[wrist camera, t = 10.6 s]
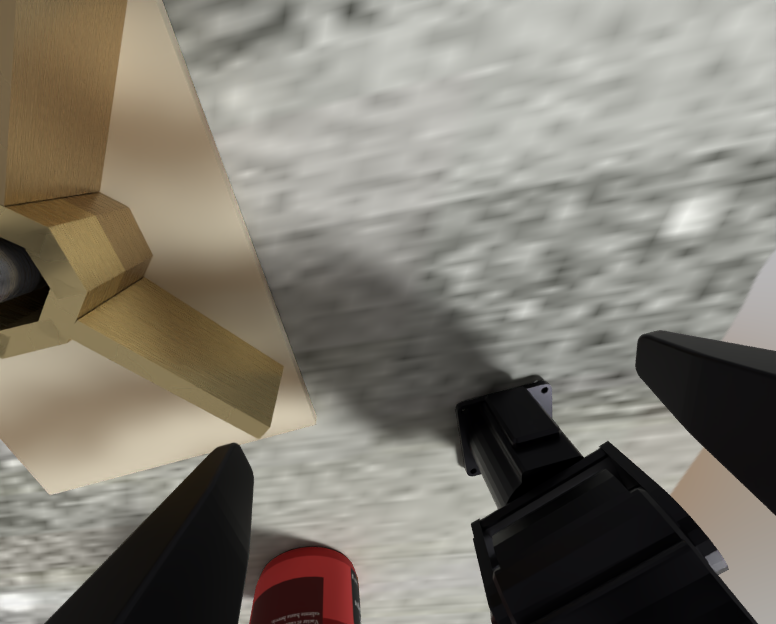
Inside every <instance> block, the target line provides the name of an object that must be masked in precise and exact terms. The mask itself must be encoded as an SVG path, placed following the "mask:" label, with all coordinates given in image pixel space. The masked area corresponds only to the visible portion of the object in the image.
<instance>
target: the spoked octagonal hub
mask: <svg viewBox="0 0 776 624" xmlns="http://www.w3.org/2000/svg"><path fill="white" fill-rule="evenodd" d="M127 1H128V0H0V237H1V238H4V239H6V240H8V241H10V242H13V243H15V244H17V245H19V246H22V247H24V248H25V250H26V251H27V253H28V254H29V256H30V257H31V259H32V260H33V262H34V264H35V265H36V267H37V268H38V270H39V271H40V273H41V274H42V276H43V277H44V279H45V281H46V282H47V284H48V285H49V286H46V287H44V288H41V289H38V290H35V291H32V292H30V293H27V294H24V295H21V296H18V297H16V298H13V299H10V300H7V301H4V302H2V303H0V358H2V359H5V358H9V357H13V356H17V355H21V354H25V353H29V352H33V351H37V350H42V349H46V348H50V347H54V346H58V345H62V344H66V343H68V342H70V341H71V340H74V341H76V342H78V343H79V344H81V345H83V346H85V347H87V348H89V349H91V350H92V351H94V352H96V353H98V354H100V355H102V356H104V357H106V358H107V359H109V360H111V361H113V362H115V363H117V364H119V365H121V366H122V367H124V368H126V369H128V370H130V371H132V372H134V373H135V374H137V375H139V376H141V377H143V378H145V379H147V380H149V381H150V382H152V383H154V384H156V385H158V386H160V387H162V388H164V389H165V390H167V391H169V392H171V393H173V394H175V395H177V396H178V397H180V398H182V399H184V400H186V401H188V402H190V403H192V404H193V405H195V406H197V407H199V408H201V409H203V410H205V411H207V412H208V413H210V414H212V415H214V416H216V417H218V418H220V419H221V420H223V421H225V422H227V423H229V424H231V425H233V426H235V427H236V428H238V429H240V430H242V431H244V432H246V433H248V434H250V435H251V436H253V437H255V438H257V439H260V438H261V437H262V436H263V435H264V434H265V433H266V432H267V431H268V429H269V428H270V426H271V422H272V417H273V413H274V409H275V404H276V400H277V395H278V391H279V386H280V382H281V377H282V373H283V368H284V366H283V365H281V364H280V363H278V362H276V361H275V360H273V359H272V358H270V357H269V356H267V355H266V354H264V353H262V352H261V351H259V350H258V349H256V348H255V347H253V346H252V345H250V344H248V343H247V342H245V341H244V340H242V339H241V338H239V337H237V336H236V335H234V334H233V333H231V332H230V331H228V330H227V329H225V328H223V327H222V326H220V325H219V324H217V323H216V322H214V321H213V320H211V319H209V318H208V317H206V316H205V315H203V314H202V313H200V312H199V311H197V310H195V309H194V308H192V307H191V306H189V305H188V304H186V303H184V302H183V301H181V300H180V299H178V298H177V297H175V296H174V295H172V294H170V293H169V292H167V291H166V290H164V289H163V288H161V287H160V286H158V285H156V284H155V283H153V282H152V281H150V280H149V279H147V278H146V277H144V275H145V273H146V271H147V269H148V266H149V264H150V262H151V259H152V257H153V254H152V252H151V250H150V248H149V246H148V244H147V242H146V240H145V238H144V236H143V234H142V232H141V230H140V228H139V226H138V224H137V222H136V220H135V218H134V216H133V214H132V212H131V210H130V208H129V207H128V206H126V205H124V204H122V203H120V202H118V201H116V200H114V199H112V198H110V197H108V196H106V195H105V194H103V193H101V192H99V191H100V188H101V181H102V174H103V167H104V161H105V154H106V147H107V140H108V133H109V126H110V119H111V112H112V105H113V98H114V91H115V84H116V77H117V70H118V63H119V56H120V49H121V42H122V35H123V28H124V22H125V15H126V8H127Z"/></svg>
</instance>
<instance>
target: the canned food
mask: <svg viewBox="0 0 776 624" xmlns="http://www.w3.org/2000/svg"><path fill="white" fill-rule="evenodd" d="M249 624H361V613H360V598H359V584H358V577H357V575H356V572H355V569H354V567H353V565H352V563H351V561H350V560H349V559H348V558H347V557H345V556H344V555H343V554H341V553H339V552H337V551H334V550H332V549H328V548H323V547H303V548H297V549H293V550H290V551H287V552H285V553H283V554H280V555H279V556H277V557H276V558H274V559H272V560H271V561H270V562H269V563H268V564H267V565H266V567H265V568H264V570H263V571H262V573H261V576H260V578H259V580H258V582H257V585H256V589H255V594H254V600H253V606H252V611H251V617H250V622H249Z"/></svg>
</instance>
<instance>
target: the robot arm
mask: <svg viewBox="0 0 776 624" xmlns="http://www.w3.org/2000/svg"><path fill="white" fill-rule="evenodd" d="M635 367H636V371H637V373H638V375H639V376H640V378H641V379H642V380H643V381H644V382H645V383H646V385H647V386H648V387H649V388H650V389H651V390H652V391H653V393H654V394H655V395H656V396H657V397H658V398H659V399H660V401H661V402H662V403H663V404H664V405H665V406H666V407H667V408H668V410H669V411H670V412H671V413H672V414H673V415H674V416H675V418H676V419H677V420H678V421H679V422H680V423H681V424H682V425H683V426H684V428H685V429H686V430H687V431H688V432H689V433H690V434H691V435H692V436H693V437H694V438H695V439H696V440H697V441H698V442H699V443H700V444H701V445H702V446H703V447H704V448H705V449H707V451H709V452H710V453H711V454H712V455H713V456H714V457H715V458H716V459H717V460H718V461H719V462H720V463H721V464H722V465H723V466H724V467H725V468H727V470H728V471H730V472H731V473H732V474H733V475H734V476H735V477H736V478H737V479H738V480H739V481H740V482H741V483H742V484H743V485H744V486H745V487H746V488H748V490H750V492H752V493H753V494H754V495H755V496H756V497H757V498H758V499H759V500H760V501H761V502H762V503H763V504H764V505H765V506H767V508H768V509H769V510H770V511H771V512H773V513H774V514H775V515H776V351H773V350H767V349H761V348H756V347H750V346H744V345H739V344H734V343H728V342H723V341H717V340H712V339H706V338H701V337H695V336H690V335H684V334H679V333H673V332H668V331H662V330H659V331H654V332H650V333H646V334H643V335H641V336H640V337H639V339H638V343H637V353H636V363H635ZM544 387H545V388H544ZM542 388H544V389H542ZM541 389H542V390H541ZM463 409H465V410H464V411H462V410H463ZM455 410H456V416H457V422H458V429H459V435H460V441H461V447H462V453H463V460H464V466H465V470H466V472H467V474H468V475H469V476H476V475H480V474H482V476H483V478H484V480H485V482H486V485H487V487H488V489H489V491H490V493H491V495H492V497H493V499H494V501H495V503H496V506H497V508H498V510H496V511H494V512H493V513H491V514H489V515H488V516H486V517H484V518H483V519H481V520H480V519H478V520H476V521H474V522H473V523H471V527H472V531H473V535H474V538H473V542H474V546H475V550H476V554H477V559H478V563H479V567H480V571H481V576H482V580H483V584H484V588H485V593H486V597H487V601H488V605H489V608H490V613H491V622H492V624H758V623H757V622H756V621H755V620H754V618H753V617H752V616H751V615H750V614H749V612H748V611H747V610H746V609H745V608H744V606H743V605H742V604H741V603H740V602H739V600H738V599H737V598H736V596H735V595H734V594H733V593H732V592H731V590H730V589H729V588H728V587H727V586H726V584H725V583H724V582H723V581H722V579H721V578H720V577H719V576H718V575H719V574H721V573H723V572H725V571H727V570H729V569H728V565H727V564H726V562H725V560H724V558H723V557H722V555H721V554H720V552H719V551H718V550H717V548H716V547H715V546H714V545H713V543H712V542H711V540H710V539H709V538H708V537H707V535H706V534H705V533H704V532H703V531H702V530H701V528H700V527H699V526H698V525H697V524H696V523H695V521H694V520H693V519H692V518H691V517H690V516H689V515H688V514H687V512H686V511H685V510H684V509H683V508H682V507H681V506H680V505H679V504H678V503H677V502H676V501H675V500H674V499H673V498H672V497H671V496H670V495H669V494H668V493H667V492H666V491H665V490H664V489H663V488H662V487H660V486H659V485H658V484H657V483H656V482H655V481H654V480H652V479H651V478H650V477H649V476H648V475H647V474H646V473H644V472H643V471H642V470H641V469H640V468H639V467H637V466H636V465H635V464H634V463H633V462H632V461H631V460H629V459H628V458H627V457H626V456H625V455H624V454H623V453H621V452H620V451H619V450H618V449H617V448H616V447H614V446H613V445H612V444H611V443H610V442H609V441H607V442H605V443H604V444H602V445H600V446H599V447H600V448H599V449H598V450H596V451H594V452H593V453H591V454H589V455H588V456H586V457H583V456H582V455H581V453H580V452H579V451H578V450H577V449H576V447H575V446H574V445H573V444H572V443H571V441H570V440H569V439H568V438H567V437H566V436H565V434H564V433H563V432H562V431H561V430H560V428H559V426H558V425H557V424H556V423H555V422H554V420H553V419H552V387H551V386H550V385H549V383H548V382H547V381H539V382H535V383H531V384H527V385H524V386H520V387H516V388H512V389H509V390H505V391H501V392H498V393H494V394H490V395H486V396H483V397H479V398H475V399H471V400H468V401H464V402H461V403H459V404H458V405H457V406H456V409H455ZM253 486H254V476H253V471H252V468H251V466H250V464H249V462H248V460H247V458H246V456H245V454H244V452H243V450H242V449H241V447H240V445H239V444H238V443H230V444H226V445H222V446H219V447H216V448H215V449H214V450H213V451H212V452H211V453H210V454H209V455H208V456H207V457H206V458H205V459H204V460H203V461H202V462H201V463H200V464H199V465H198V466H197V467H196V468H195V469H194V470H193V472H192V473H191V474H190V475H189V476H188V477H187V478H186V479H185V480H184V481H183V482H182V483H181V484H180V485H179V486H178V487H177V488H176V489H175V490H174V491H173V492H172V493H171V494H170V495H169V496H168V497H167V498H166V499H165V500H164V501H163V502H162V503H161V504H160V505H159V506H158V507H157V509H156V510H155V511H154V512H153V513H152V514H151V515H150V516H149V517H148V518H147V519H146V520H145V521H144V522H143V523H142V524H141V525H140V526H139V527H138V528H137V529H136V530H135V531H134V532H133V533H132V534H131V535H130V536H129V537H128V538H127V539H126V540H125V541H124V542H123V543H122V544H121V545H120V547H119V548H118V549H117V550H116V551H115V552H114V553H113V554H112V555H111V556H110V557H109V558H108V559H107V560H106V561H105V562H104V563H103V564H102V565H101V566H100V567H99V568H98V569H97V570H96V571H95V572H94V573H93V574H92V575H91V576H90V577H89V578H88V579H87V580H86V581H85V582H84V583H83V584H82V586H81V587H80V588H79V589H78V590H77V591H76V592H75V593H74V594H73V595H72V596H71V597H70V598H69V599H68V600H67V601H66V602H65V603H64V604H63V605H62V606H61V607H60V608H59V609H58V610H57V611H56V612H55V613H54V614H53V615H52V616H51V617H50V618H49V619H48V620H47V621H46V622H45V624H238V621H239V615H240V609H241V603H242V597H243V590H244V584H245V578H246V572H247V566H248V559H249V549H250V536H251V519H252V503H253Z"/></svg>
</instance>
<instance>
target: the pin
mask: <svg viewBox="0 0 776 624" xmlns="http://www.w3.org/2000/svg"><path fill="white" fill-rule="evenodd" d="M46 286H49V285H48V284H47V282H46V281H45V279H44V277H43V276H42V274H41V273H40V271H39V270H38V268H37V267H36V265H35V264H34V262H33V260H32V259H31V257H30V256H29V254H28V253H27V251H26V250H25V248H24V247H22V246H19V245H17V244H15V243H13V242H10V241H8V240H6V239H4V238H1V237H0V303H2V302H4V301H7V300H10V299H13V298H16V297H18V296H21V295H24V294H27V293H30V292H32V291H35V290H38V289H41V288H44V287H46Z"/></svg>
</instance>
